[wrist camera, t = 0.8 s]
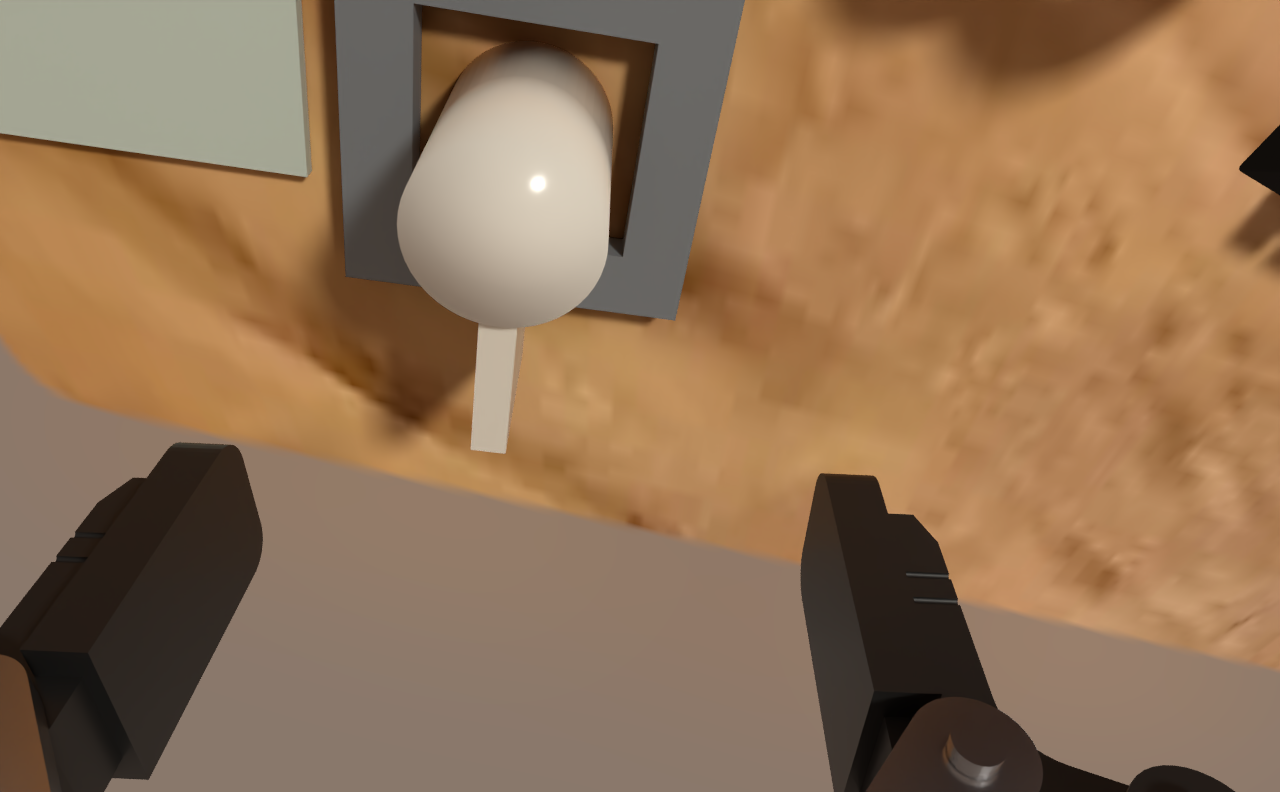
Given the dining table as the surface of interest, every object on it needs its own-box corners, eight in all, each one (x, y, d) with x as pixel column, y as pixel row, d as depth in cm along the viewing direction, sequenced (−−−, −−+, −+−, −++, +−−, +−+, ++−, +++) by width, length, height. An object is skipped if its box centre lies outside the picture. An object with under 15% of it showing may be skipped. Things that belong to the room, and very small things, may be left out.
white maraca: (451, 27, 31) (396, 120, 23) (624, 56, 31) (622, 155, 24) (442, 311, 37) (397, 450, 30) (584, 329, 38) (573, 471, 31)
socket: (355, 258, 36) (345, 276, 35) (343, -106, 28) (330, -98, 27) (673, 301, 37) (674, 320, 36) (745, -35, 29) (750, -24, 28)
